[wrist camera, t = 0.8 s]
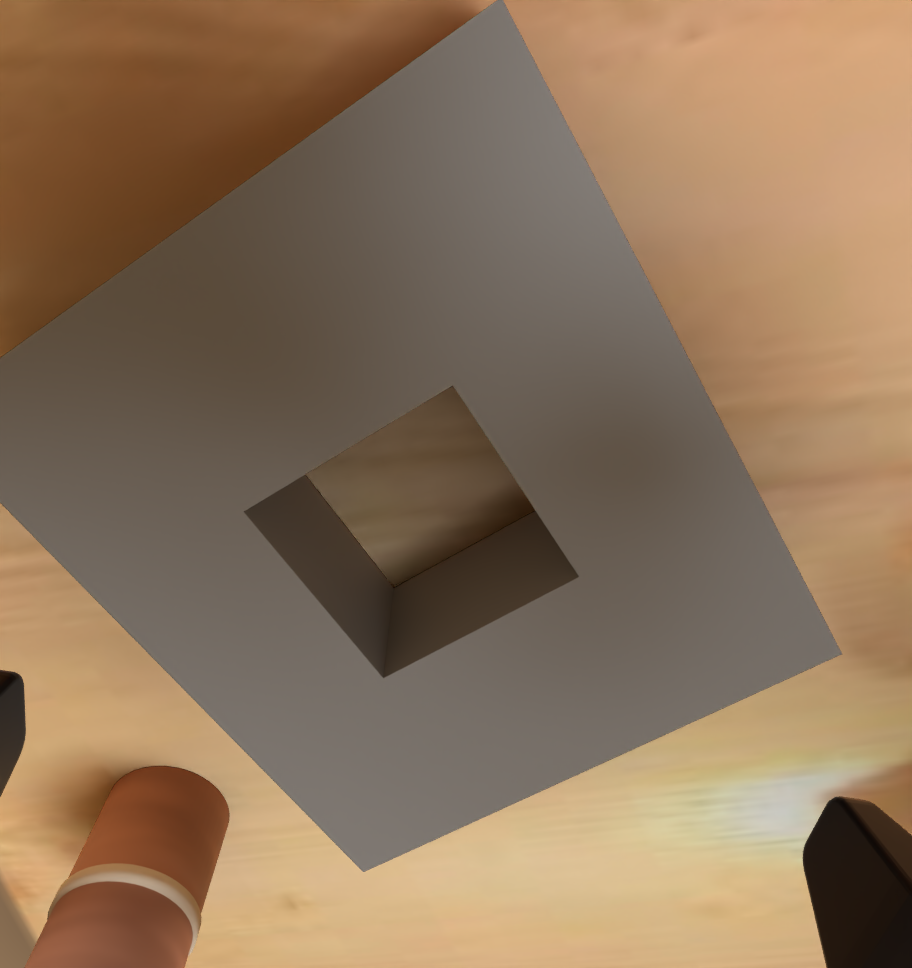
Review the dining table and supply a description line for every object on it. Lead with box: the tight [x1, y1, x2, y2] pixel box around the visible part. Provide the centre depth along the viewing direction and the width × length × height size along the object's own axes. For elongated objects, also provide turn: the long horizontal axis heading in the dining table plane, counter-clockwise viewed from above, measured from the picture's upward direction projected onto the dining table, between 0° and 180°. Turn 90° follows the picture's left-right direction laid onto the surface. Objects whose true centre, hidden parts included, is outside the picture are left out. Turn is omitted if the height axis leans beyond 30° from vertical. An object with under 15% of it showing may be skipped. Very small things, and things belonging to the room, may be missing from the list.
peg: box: [24, 766, 229, 968], centre depth 23 cm, size 4×4×8 cm
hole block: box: [0, 0, 842, 872], centre depth 20 cm, size 16×14×4 cm
